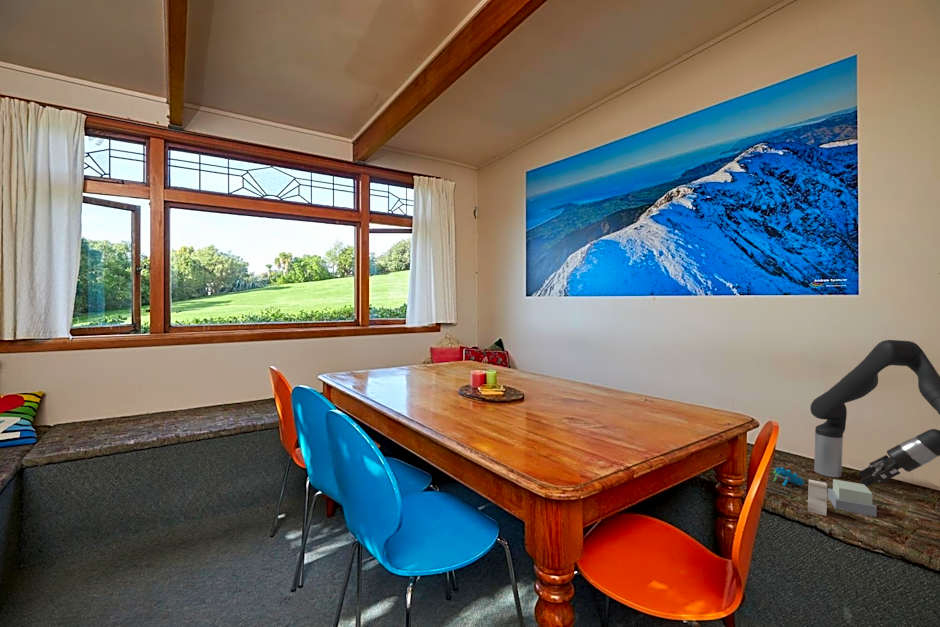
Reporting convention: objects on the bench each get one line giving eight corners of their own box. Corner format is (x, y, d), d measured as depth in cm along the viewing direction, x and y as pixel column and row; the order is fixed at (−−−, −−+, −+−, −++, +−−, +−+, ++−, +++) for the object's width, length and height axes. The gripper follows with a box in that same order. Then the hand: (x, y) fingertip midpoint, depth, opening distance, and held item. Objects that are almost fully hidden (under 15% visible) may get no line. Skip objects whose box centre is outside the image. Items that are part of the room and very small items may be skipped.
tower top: (832, 489, 160) (833, 479, 160) (864, 495, 156) (864, 484, 156) (838, 498, 152) (839, 488, 152) (872, 505, 148) (872, 493, 148)
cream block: (807, 506, 154) (808, 479, 154) (825, 510, 151) (826, 483, 150) (808, 511, 150) (808, 483, 150) (826, 515, 147) (827, 487, 147)
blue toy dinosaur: (810, 485, 168) (795, 469, 167) (803, 497, 166) (788, 480, 165) (783, 478, 178) (768, 462, 177) (777, 489, 177) (762, 473, 176)
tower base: (827, 498, 161) (828, 488, 161) (865, 505, 156) (866, 494, 156) (835, 510, 152) (836, 499, 152) (876, 518, 147) (876, 507, 146)
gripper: (896, 438, 143) (849, 463, 150) (904, 450, 131) (853, 476, 139) (918, 458, 139) (869, 482, 147) (928, 471, 128) (875, 497, 136)
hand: (862, 479), depth 143 cm, fingers open, 8 cm apart
